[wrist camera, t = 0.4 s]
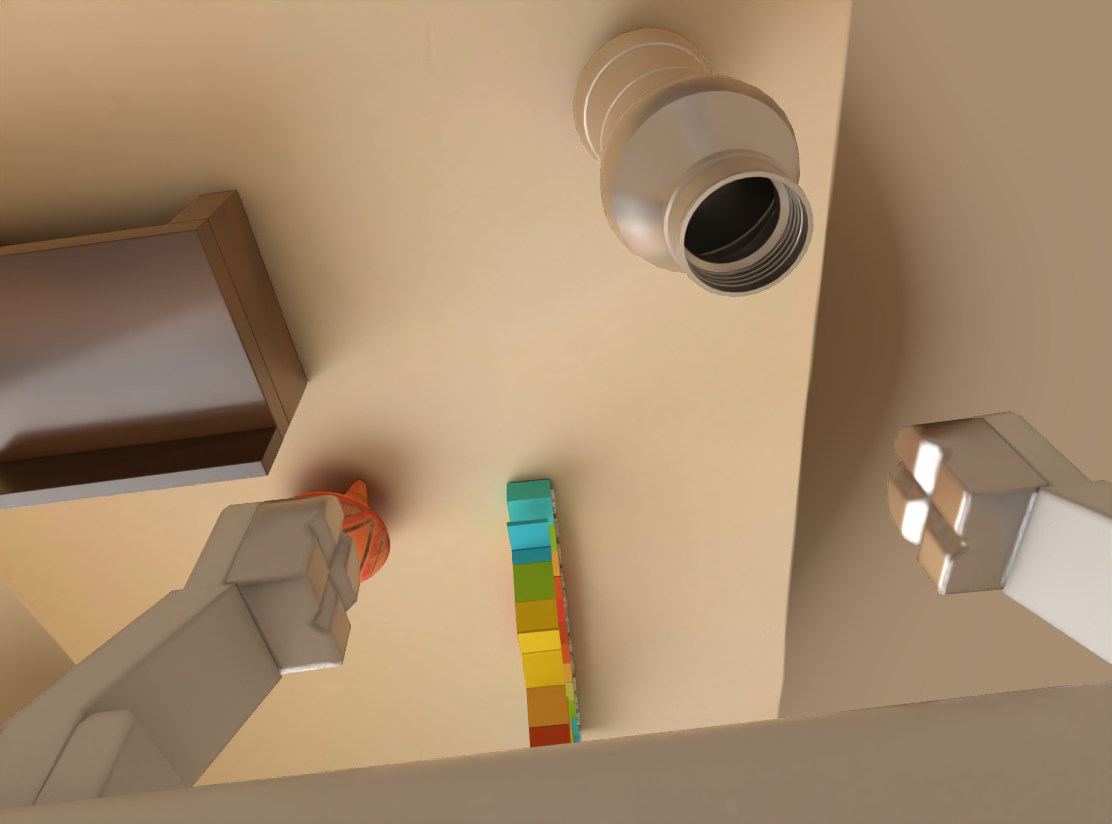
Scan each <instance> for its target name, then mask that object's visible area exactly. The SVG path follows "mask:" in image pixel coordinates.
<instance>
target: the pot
mask: <svg viewBox="0 0 1112 824" xmlns="http://www.w3.org/2000/svg"><path fill="white" fill-rule="evenodd" d="M322 495H333V496H335V497H336V498H338V500H339V503H340V505H341V508H342V510H343V513H344V515H345V516H344V519H343V523H342V527H341V530H342V531H343V532H345V533H346V534H348V535H349V536H351V537H352V538H353V540H354V543H355V546H356V549H357V553H358V558H359V564H360V583H361V582H363V581H365V580H367V579H368V578H370V577H372V576H373V575H374V574H375V573H377V572H378V571H379V570H380V568H381V567H382V566H383V565H384V563H385V562H386V560H387V558H388V555H389V551H390V539H389V535H388V532H387V529H386V527H385V525H384V523H383V521H382V520H381V519H380V517H379V516H378V515H377V514H376V513H375V512H373V511H372V510H371V509H369V508H368V505H367V488H366V485H365V482H363V481H361V480H358V481H356V482H355V483H354V484H353V485H352V486H351V488H350V489H349V490H348V492H347V493H346V494H340V493H335V492H311V493H306V494H302V495H299V496H296V497H293V498H301V497H311V496H322ZM290 499H291V498H290Z"/></svg>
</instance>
